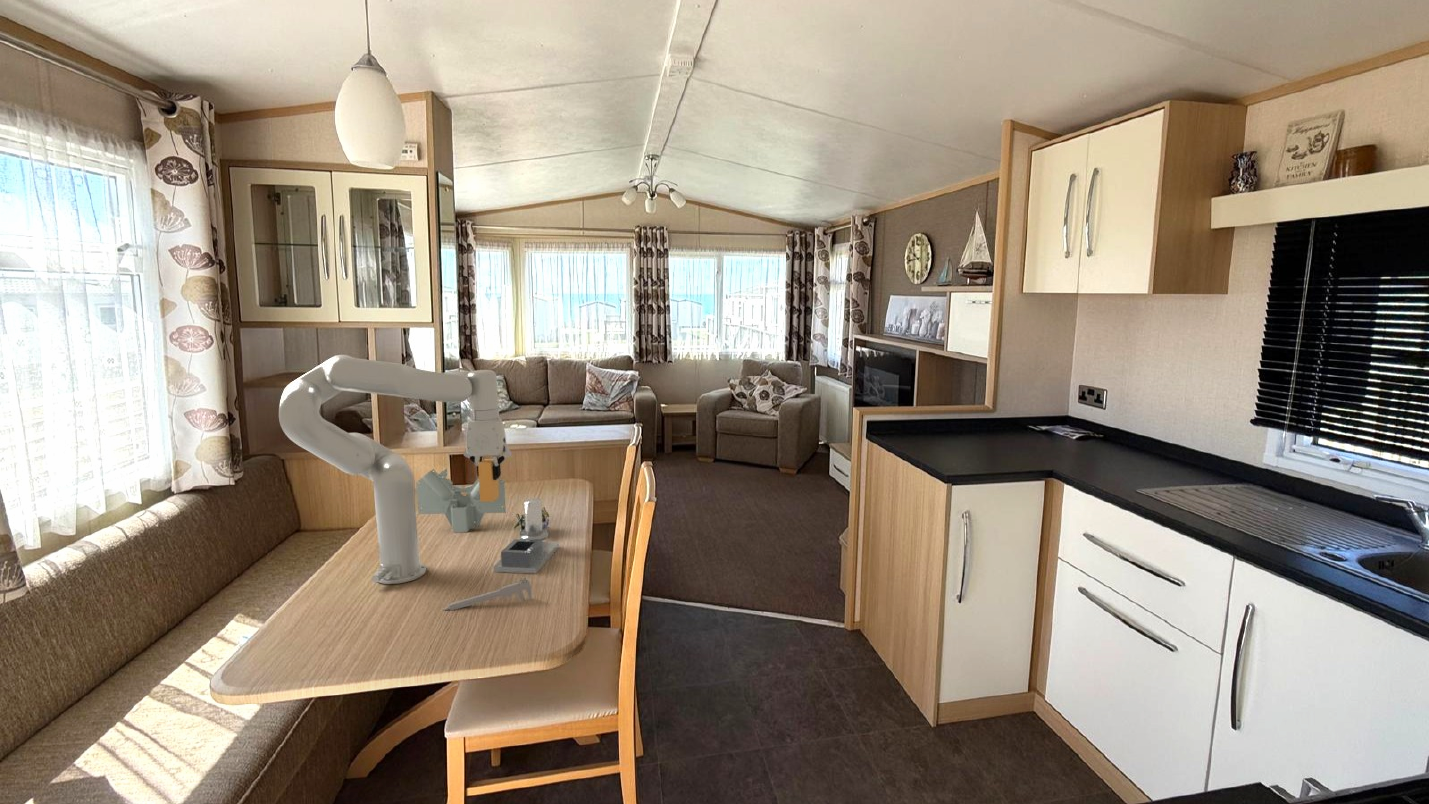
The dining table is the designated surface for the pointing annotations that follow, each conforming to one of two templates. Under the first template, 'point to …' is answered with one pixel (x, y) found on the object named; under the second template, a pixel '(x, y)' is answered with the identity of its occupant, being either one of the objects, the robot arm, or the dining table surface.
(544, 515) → the passion flower
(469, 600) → the caliper
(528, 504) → the gray socket post fixture
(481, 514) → the bracket
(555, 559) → the dining table surface
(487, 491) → the tan rectangular block
